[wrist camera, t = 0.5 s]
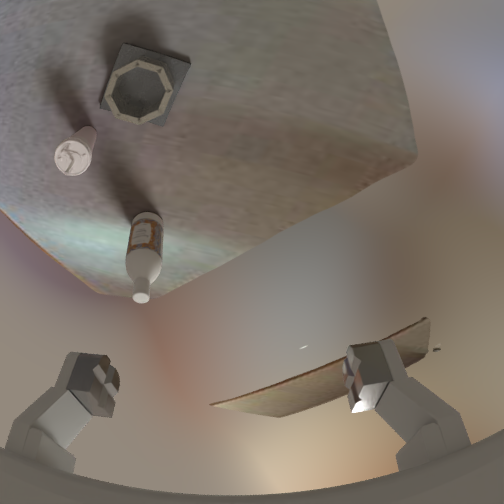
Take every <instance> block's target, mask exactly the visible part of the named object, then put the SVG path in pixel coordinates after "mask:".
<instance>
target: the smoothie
mask: <svg viewBox="0 0 504 504" xmlns="http://www.w3.org/2000/svg"><path fill="white" fill-rule="evenodd" d="M96 138H97V132H96V130H95V129H94V128H93V127H91V126H85V127H83V128H81V129H80V130H79V131H77V132H76V133H75V134H73V135H72V136H71V137H70V138H67V139H65V140H63V141H62V142H61V143H60V144H59V145H58V147H57V149H56V151H55V155H54V159H55V163H56V165H57V167H58V168H59V170H60V171H62V172H63V173H64V175H65V176H66V175H71V176H75V175H79V174H81V173H83V172H84V171H85V170H86V169H87V168H88V166H89V165H90V162H91V153H92V150H93V147H94V144H95V141H96Z"/></svg>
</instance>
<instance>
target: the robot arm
mask: <svg viewBox="0 0 504 504" xmlns="http://www.w3.org/2000/svg"><path fill="white" fill-rule="evenodd" d="M346 353H347V358H346V359H345V360H344V363H343V380H344V384H345V386H346V387H347V388H348V389H350V391H349V394H348V401H349V405H350V409H351V412H352V413H353V412H359V411H365V410H371V409H375V411H376V412H377V413H378V414H379V415H380V416H381V417H382V418H383V419H384V420H385V421H386V422H387V423H388V424H389V425H390V426H391V427H392V428H393V429H394V430H395V431H396V432H397V433H398V434H399V435H400V437H402V439H404V441H405V442H406V444H405V445H404V446H403V448H401V449H400V450H399V452H398V453H397V454H396V459H397V464H398V468H399V472H396V473H393V474H389V475H385V476H381V477H378V478H373V479H369V480H365V481H361V482H356V483H352V484H346V485H341V486H335V487H330V488H323V489H317V490H310V491H301V492H292V493H281V494H267V495H238V496H237V495H235V496H232V495H231V496H229V495H226V496H225V495H197V494H183V493H172V492H162V491H154V490H147V489H141V488H135V487H129V486H123V485H118V484H113V483H109V482H104V481H99V480H95V479H91V478H87V477H84V476H80V475H76V474H73V471H74V465H75V461H76V458H75V457H74V456H73V455H72V454H71V453H69V452H68V451H67V450H65V449H66V448H67V447H68V446H69V444H70V443H71V442H72V441H73V440H74V438H75V437H76V436H77V435H78V433H79V432H80V431H81V430H82V429H83V428H84V426H85V425H86V424H87V423H88V422H89V420H90V419H91V418H92V415H93V416H101V417H109V418H112V415H113V411H114V407H115V400H114V398H113V397H114V396H115V395H116V394H117V393H118V390H119V386H120V379H119V374H118V372H117V370H116V368H114V367H113V366H111V365H110V359H109V358H108V356H107V355H98V354H87V353H78V352H70V353H69V354H68V355H67V357H66V359H65V361H64V364H63V366H62V369H61V371H60V374H59V376H58V379H57V382H56V384H55V387H51V388H50V389H49V390H47V391H46V392H45V393H44V394H43V395H42V396H41V397H40V398H38V399H37V400H36V401H35V402H34V403H33V404H32V405H30V406H29V407H28V408H27V409H26V410H25V411H24V412H23V413H22V414H21V415H19V416H18V417H17V418H16V419H15V420H14V422H13V424H12V427H11V430H10V433H9V436H8V440H7V443H6V446H5V449H4V448H2V447H0V504H504V429H503V430H501V431H499V432H497V433H495V434H493V435H491V436H489V437H487V438H485V439H483V440H481V441H479V442H477V443H474V444H472V445H471V443H470V440H469V437H468V434H467V432H466V429H465V426H464V424H463V421H462V418H461V416H460V413H459V412H457V411H456V410H455V409H454V408H452V407H451V406H450V405H448V404H447V403H446V402H444V401H443V400H442V399H440V398H439V397H438V396H437V395H435V394H434V393H433V392H431V391H430V390H429V389H427V388H426V387H425V386H424V385H422V384H421V383H420V382H418V381H417V380H416V379H414V378H413V377H409V378H408V376H407V373H406V370H405V368H404V365H403V363H402V360H401V358H400V355H399V353H398V351H397V348H396V346H395V343H394V341H393V340H392V339H388V340H383V341H375V342H369V343H362V344H356V345H350V346H348V348H347V351H346Z"/></svg>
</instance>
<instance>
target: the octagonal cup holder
mask: <svg viewBox="0 0 504 504" xmlns="http://www.w3.org/2000/svg"><path fill="white" fill-rule="evenodd" d="M190 65H191V63H188V62H185V61H182V60H179V59H176V58H173V57H170V56H167V55H164V54H161V53H158V52H155V51H151V50H148V49H145V48H141V47H138V46H134V45H130V44H127V43H123V44H122V47H121V49H120V52H119V54H118V57H117V59H116V62H115V65H114V67H113V70H112V73H111V75H110V78H109V81H108V84H107V87H106V90H105V93H104V96H103V99H102V102H101V105H100V108H101V109H104V110H108V111H112V112H113V114H114V116H115V118H117V119H121V120H124V121H128V122H131V123H135V124H138V125H141V124H143V123H145V122H150V123H153V124H156V125H159V126H164V124H165V121H166V119H167V116H168V114H169V112H170V109H171V107H172V105H173V102H174V100H175V98H176V95H177V93H178V91H179V89H180V87H181V84H182V82H183V80H184V78H185V76H186V74H187V72H188V70H189V68H190Z"/></svg>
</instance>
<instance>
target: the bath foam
mask: <svg viewBox="0 0 504 504" xmlns="http://www.w3.org/2000/svg"><path fill="white" fill-rule="evenodd" d="M163 230H164V224H163V221H162V219H161V218H160V217H159V216H158V215H156V214H154V213H151V212H143V213H140V214H138V215H137V216H136V217H135V218H134V219H133V221H132V225H131V230H130V236H129V242H128V248H127V254H126V270H127V273H128V275H129V277H130V278H131V280H132V281H133V282H134V286H133V300H134V301H136V302H138V303H146V302H147V301H148V300H149V297H150V284H151V283H152V282H153V281H154V280H155V279H156V278H157V277H158V275H159V273H160V271H161V267H162V252H163Z"/></svg>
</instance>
